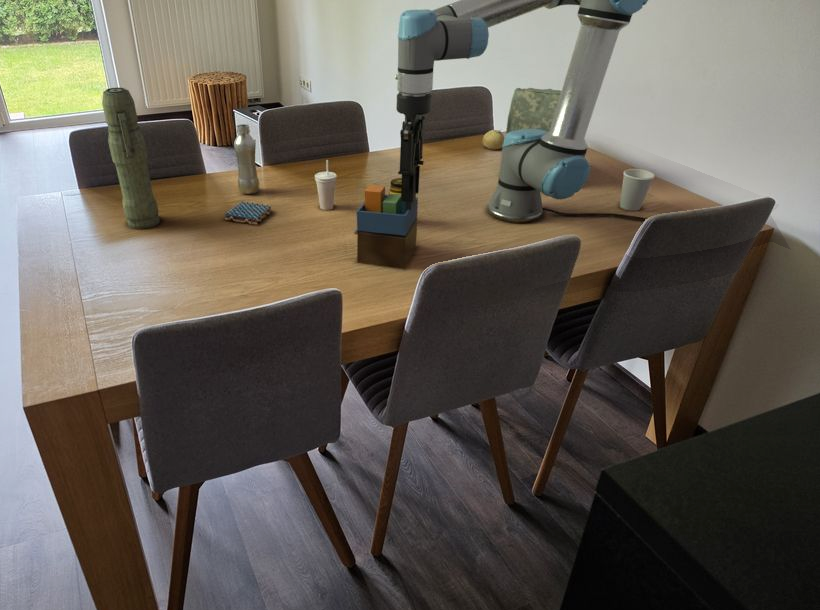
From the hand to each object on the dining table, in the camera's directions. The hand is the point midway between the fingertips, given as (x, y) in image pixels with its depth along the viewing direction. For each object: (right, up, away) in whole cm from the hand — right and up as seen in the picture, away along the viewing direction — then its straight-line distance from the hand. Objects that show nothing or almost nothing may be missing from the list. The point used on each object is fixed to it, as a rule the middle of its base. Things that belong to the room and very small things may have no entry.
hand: (409, 196), depth 144 cm
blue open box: (-5, -5, +6) cm, 9 cm away
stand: (-5, -12, +10) cm, 17 cm away
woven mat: (-43, +2, +30) cm, 53 cm away
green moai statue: (-72, -1, +27) cm, 77 cm away
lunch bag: (+47, +21, +58) cm, 78 cm away
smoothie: (-21, +5, +35) cm, 42 cm away
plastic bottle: (-46, +13, +45) cm, 66 cm away
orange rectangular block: (-8, -4, +6) cm, 11 cm away
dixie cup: (+68, +6, +36) cm, 77 cm away
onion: (+38, +38, +82) cm, 98 cm away
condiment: (-2, -1, +27) cm, 27 cm away
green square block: (-4, -5, +5) cm, 8 cm away
